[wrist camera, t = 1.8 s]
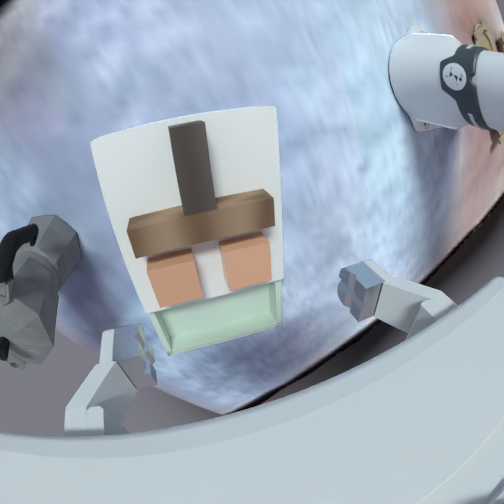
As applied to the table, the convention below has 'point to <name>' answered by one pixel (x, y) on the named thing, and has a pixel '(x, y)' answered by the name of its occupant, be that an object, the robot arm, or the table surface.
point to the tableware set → (488, 47)
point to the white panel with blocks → (167, 191)
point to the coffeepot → (33, 287)
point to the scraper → (197, 202)
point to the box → (219, 318)
